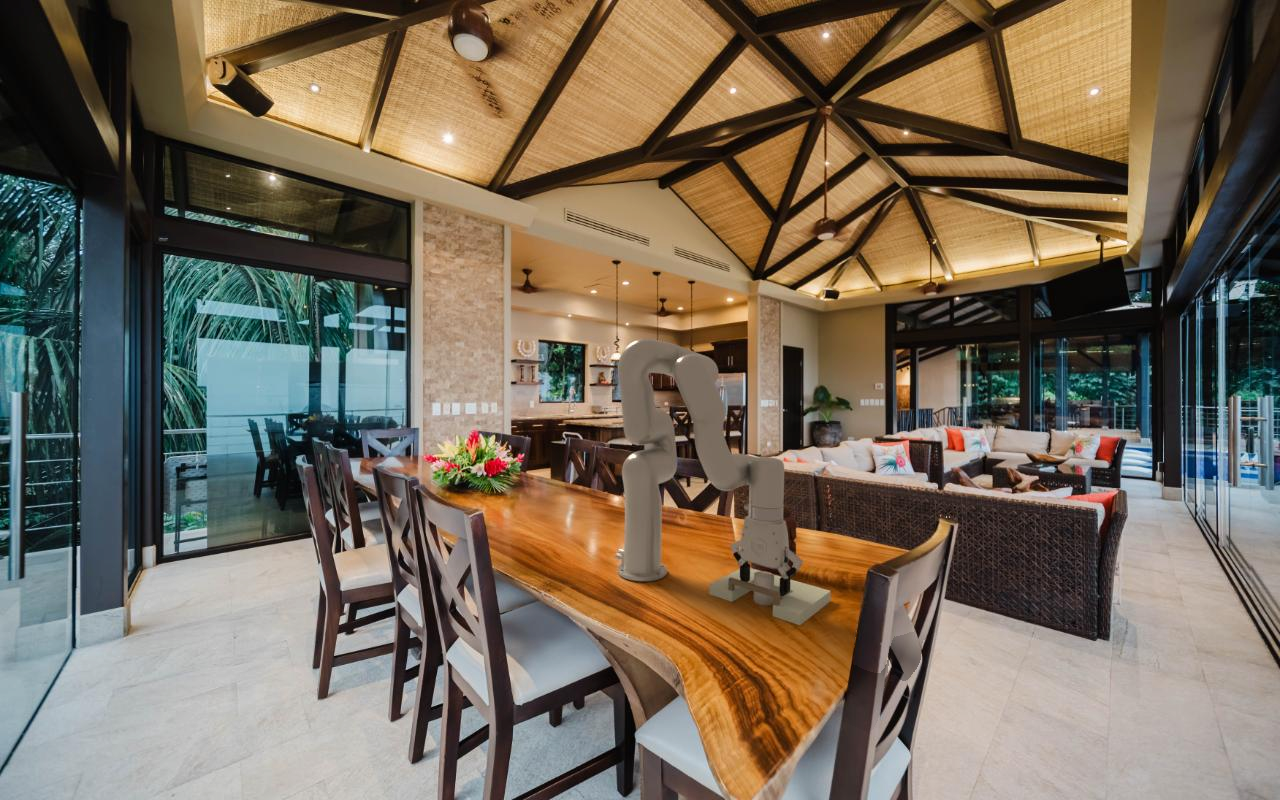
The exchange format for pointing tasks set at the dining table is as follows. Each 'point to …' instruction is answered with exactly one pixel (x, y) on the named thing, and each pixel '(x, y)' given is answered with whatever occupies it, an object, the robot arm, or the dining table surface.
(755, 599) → the white cylinder
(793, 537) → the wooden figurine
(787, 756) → the dining table surface
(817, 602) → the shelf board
